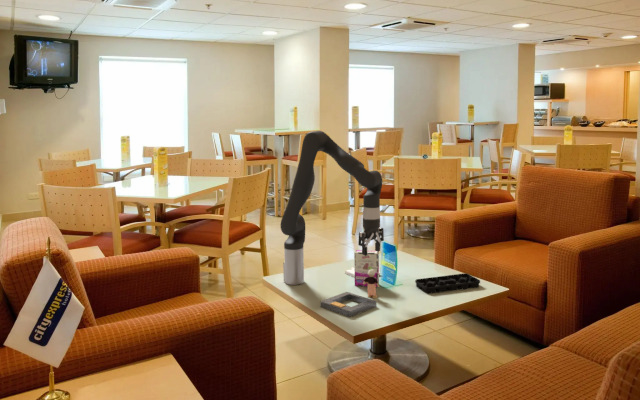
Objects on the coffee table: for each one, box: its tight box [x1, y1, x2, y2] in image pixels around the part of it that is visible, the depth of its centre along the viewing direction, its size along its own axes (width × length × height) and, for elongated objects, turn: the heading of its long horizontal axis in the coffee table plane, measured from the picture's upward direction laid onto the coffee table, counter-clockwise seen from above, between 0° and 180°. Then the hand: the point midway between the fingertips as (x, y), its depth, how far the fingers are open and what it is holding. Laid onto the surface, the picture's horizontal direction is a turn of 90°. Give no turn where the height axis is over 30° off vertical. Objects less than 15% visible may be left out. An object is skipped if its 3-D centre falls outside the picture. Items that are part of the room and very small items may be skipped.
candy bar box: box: [354, 249, 380, 288], centre depth 258 cm, size 11×5×16 cm, turn 76°
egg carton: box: [414, 273, 481, 294], centre depth 255 cm, size 18×30×4 cm, turn 120°
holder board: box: [319, 291, 377, 318], centre depth 231 cm, size 17×16×3 cm
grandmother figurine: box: [363, 269, 380, 299], centre depth 242 cm, size 8×4×13 cm, turn 74°
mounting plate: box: [344, 266, 380, 279], centre depth 275 cm, size 18×13×2 cm
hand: (371, 253), depth 240 cm, fingers open, 8 cm apart
